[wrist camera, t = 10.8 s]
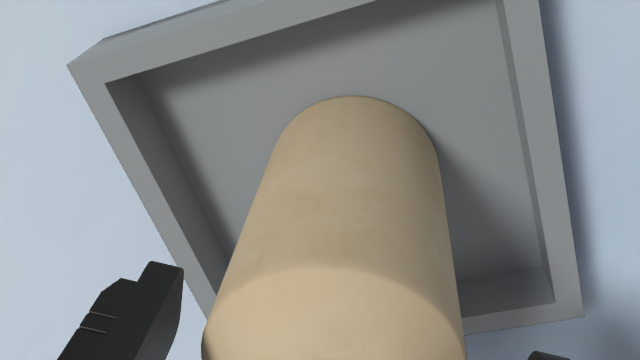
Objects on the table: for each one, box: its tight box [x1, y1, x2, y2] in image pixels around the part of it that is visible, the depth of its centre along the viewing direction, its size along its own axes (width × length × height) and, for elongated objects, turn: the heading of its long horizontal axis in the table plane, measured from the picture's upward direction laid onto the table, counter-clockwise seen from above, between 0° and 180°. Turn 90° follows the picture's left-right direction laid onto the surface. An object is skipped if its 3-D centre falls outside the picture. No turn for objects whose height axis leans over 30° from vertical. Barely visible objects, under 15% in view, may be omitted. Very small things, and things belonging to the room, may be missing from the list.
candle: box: [201, 95, 467, 360], centre depth 15 cm, size 6×6×10 cm
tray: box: [67, 0, 585, 335], centre depth 19 cm, size 13×13×2 cm
